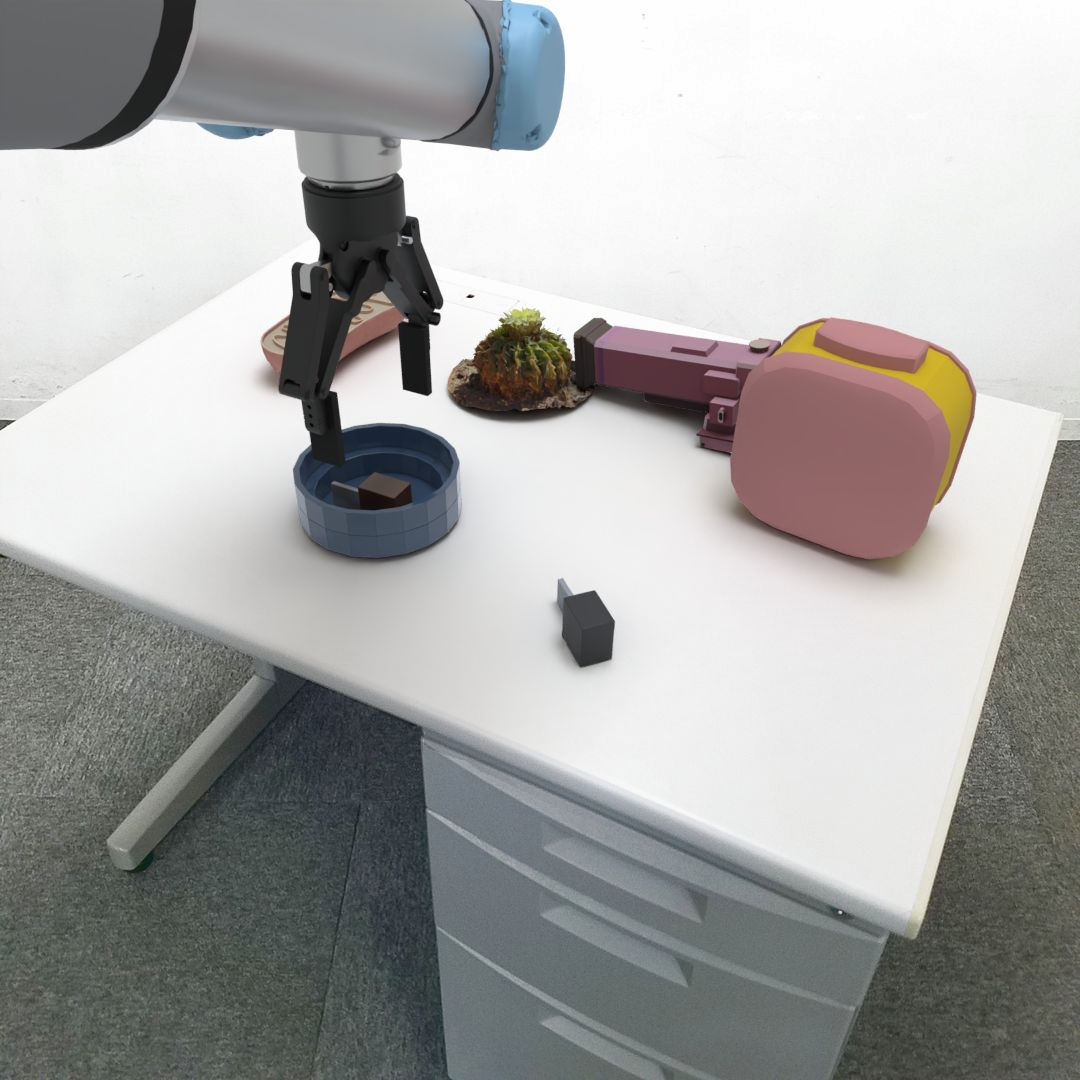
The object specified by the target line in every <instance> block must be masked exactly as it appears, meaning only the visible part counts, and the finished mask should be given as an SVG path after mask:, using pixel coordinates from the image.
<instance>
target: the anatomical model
mask: <svg viewBox="0 0 1080 1080" xmlns="http://www.w3.org/2000/svg"><path fill="white" fill-rule="evenodd" d="M332 298H334V299H338V300H342V301H347V300H345V299H342V298H340V297H339V296H338V295H337V294H336V293H335V291H333V294H332ZM289 316H290V313H289V314H287V315H286V316H284V317H283V318H282V319H280V320H279V321H278V322H276V323H275V324H273V325H272V326H270V328H268V329H267V330H266V331H265V332H264V333H263V334H262V335H261V337H260V341H259V342H260V346H261V350H262V353H263V355H264V357H265V360H266V361H267V362H268V364H269V365H270V366H271V367H272V368H273V369H274V370H275V371H276V372H278V373H279V374H280V373H281V367H282V360H283V354H284V348H285V341H286V335H287V328H288V322H289ZM404 320H405V318H404V317H403V316H402V315H401V313H400V312H399V311H398V310H397V309H396V307H395V306H394V305H393V304H392V303H391V301H390V300H389V299H388V298H387V297H386V295H385V294H384V293H383V292H380V293H375V294H373V295H372V296H371V297H370V299H369V300H367V301H366V302H364V303H363V305H362V308H361V311H360V313H359V315H358V316H355V317H354V318H353V319H352V321H351V324H350V328H349V331H348V334H347V337H346V340H345V343H344V347H343V350H342V353H341V356H340V359H339V362H340V361H341V360H342V359H343V358H345V357H346V356H348V355H349V354H351V353H352V352H354V351H356V350H357V349H358V348H361V346H363V345H365V344H368V343H369V342H371V341H372V340H376V339H378V338H379V337H381V336H384V334H388V333H389V332H392V330H395V329H396V328H398V324H399V323H400V322H402V321H404Z"/></svg>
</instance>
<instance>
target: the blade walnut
mask: <svg viewBox="0 0 1080 1080" xmlns="http://www.w3.org/2000/svg"><path fill="white" fill-rule="evenodd" d="M331 486H332V493H333V500H334V505H335V506H338V507H342V508H346V509H352V510H382V509H389V508H396V507H401V506H404V505H407V504H410V503H412V494H411V483H409V482H405V481H402V480H399V479H396V478H392V477H389V476H386V475H383V474H380V473H376V472H374V473H373V474H372V475H371V476H370V477H368V478H367V479H366V480H365V481H364V482H363V483H362V484H360V485H359V486H358V488H355V487H351V486H348V485H345V484H342V483H339V482H336V481H333V482H332V483H331Z"/></svg>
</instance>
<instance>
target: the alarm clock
mask: <svg viewBox="0 0 1080 1080" xmlns="http://www.w3.org/2000/svg"><path fill="white" fill-rule="evenodd" d="M976 404H977V389H976V387H975V384H974V382H973V378H972V376H971V373H970V370H969V369H968V368H967V367H966V366H965V364H964V363H963V362H962V361H961V360H960V359H959V358H958V357H957V356H956V355H955V354H954V353H953V352H952V351H950V350H948V349H946V348H944V347H942V346H940V345H937V344H936V343H933V342H931V341H929V340H926V339H923V338H922V339H921V338H919V337H915V336H912V335H910V334H906V333H904V332H901V331H898V330H894V329H892V328H888V327H885V326H881V325H876V324H872V323H868V322H863V321H859V320H853V319H847V318H837V317H821V318H818V319H815V320H812V321H809V322H807V323H804V324H800V325H798V326H797V327H796V328H795V329H794V330H792V332H791V333H789V334H788V335H787V337H785V338H784V339H783V341H782V342H781V347H780V348H779V349H778V350H777V351H776V352H775V353H774V354H773V355H772V356H771V357H768V358H765V359H764V360H763V361H761V362H760V363H759V364H758V365H757V366H756V367H755V368H754V369H753V370H752V371H751V372H750V373H749V374H748V377H747V379H746V382H745V384H744V387H743V389H742V392H741V397H740V403H739V409H738V415H737V421H736V427H735V433H734V440H733V446H732V452H731V453H730V458H729V465H730V483H731V484H732V487H733V489H734V491H735V494H736V496H737V498H738V500H739V502H740V503H741V504H742V505H743V506H744V507H745V508H746V509H747V510H748V512H750V514H752V516H753V517H754V518H756V519H758V520H760V521H761V522H763V523H765V524H767V525H768V526H770V527H772V528H773V529H777V530H779V531H782V532H785V533H787V534H789V535H792V536H795V537H798V538H800V539H803V540H806V541H809V542H811V543H814V544H817V545H819V546H822V547H825V548H827V549H830V550H833V551H836V552H837V553H840V554H843V555H846V556H850V557H855V558H859V559H865V560H877V559H885V558H893V557H897V556H899V555H900V554H902V553H904V552H905V551H907V550H909V549H910V548H912V547H914V546H915V545H916V544H917V542H918V540H919V539H920V537H922V534H923V533H924V531H925V529H926V528H927V525H928V522H929V519H930V516H931V513H932V511H933V509H935V507H936V506H937V505H939V504H940V503H941V502H942V500H943V499H944V497H945V496H946V494H947V493H948V491H949V490H950V488H951V486H952V484H953V481H954V478H955V476H956V472H957V470H958V467H959V464H960V461H961V458H962V455H963V452H964V449H965V446H966V443H967V440H968V437H969V434H970V432H971V428H972V426H973V422H974V420H975V416H976V415H975V414H976Z"/></svg>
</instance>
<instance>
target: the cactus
mask: <svg viewBox="0 0 1080 1080" xmlns="http://www.w3.org/2000/svg"><path fill="white" fill-rule="evenodd" d="M536 309H537V308H533V309H531V308H528V307H525V308H524V307H521V310H519V309H516V308H513V309H512V310H508V312H509V313H510V314H509V313H507V312H504V311H503V312H502V313H503V314H504V315H505V317H500V318H499V319H498V321H499V323H501V324H500V326H499V325H497V328H495V329H491V328H490V332H489V333H487V334H485V335H484V336H485V337H484V338H483V339H482V340H480V341H478V344H476V347H473V350H474V353H473V358H472V359H470V358H469V359H468V358H465V359H462V360H460V361H459V363H457V365H455V367H453V368H452V370H451V372H450V374H449V376H448V378H447V389H448V392H449V393H450V394H451V395H452V397H453V398H454V399H455V401H456V404H461V406H462V407H464V408H466V407H471V408H476V409H481V410H485V411H490V412H492V411H494V412H498V411H500V412H510V411H511V410H513V409H514V410H515V409H516V410H518V411H520V412H525V411H526V412H527V411H530V410H538V409H540V410H543V409H548V408H552V409H553V408H555V407H557V408H558V409H561V408H562V407H565V408H575V407H576V406H578V404H579V403H581V402H584V401H586V399H587V398H588V397H589V396H590V395H592V394H593V391H594V390H595V385H592V386H590V387H589V388H586V389H584V388H577V384H576V369H575V359H574V360H573V353H571V348H569V347H568V343H567V341H566V340H567V339H566V338H564V336H563V334H562V333H561V334H558V333H557V332H555V333H554V332H551V331H549V330H550V329H551V327H550V328H548V329H546V328H545V325H546V324H544V325H543V322H544V321H545V320H546V319H547V317H545V316H541V312H540V309H537V310H536ZM559 329H560V327H558V328H557V330H559Z"/></svg>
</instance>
